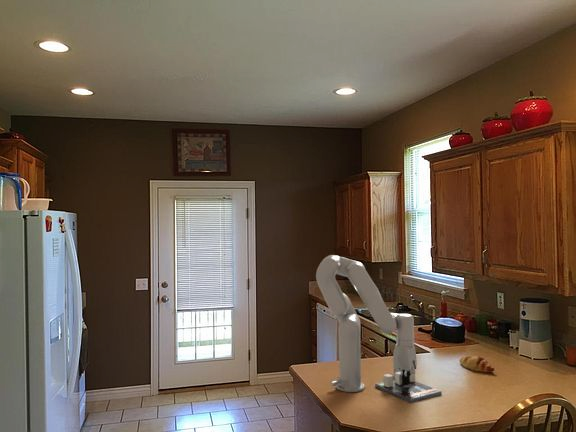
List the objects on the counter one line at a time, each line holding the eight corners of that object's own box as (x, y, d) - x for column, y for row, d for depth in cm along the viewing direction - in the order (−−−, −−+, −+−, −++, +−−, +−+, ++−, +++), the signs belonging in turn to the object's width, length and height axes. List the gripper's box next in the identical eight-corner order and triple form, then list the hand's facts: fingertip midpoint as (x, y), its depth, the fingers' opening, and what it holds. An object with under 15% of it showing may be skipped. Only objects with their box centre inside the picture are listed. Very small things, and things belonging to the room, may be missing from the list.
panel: (410, 402, 194) (409, 398, 194) (375, 387, 213) (375, 383, 213) (441, 394, 202) (441, 390, 202) (405, 380, 221) (405, 376, 222)
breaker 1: (388, 387, 207) (387, 376, 207) (383, 385, 209) (383, 375, 209) (393, 386, 208) (393, 375, 208) (388, 384, 211) (388, 373, 211)
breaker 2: (399, 384, 210) (399, 374, 210) (394, 382, 212) (394, 372, 212) (404, 383, 211) (404, 373, 211) (399, 381, 214) (399, 371, 214)
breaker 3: (410, 382, 213) (410, 372, 213) (405, 380, 216) (405, 370, 216) (415, 381, 214) (415, 371, 215) (410, 379, 217) (410, 369, 217)
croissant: (456, 370, 246) (450, 358, 244) (467, 359, 250) (462, 346, 249) (490, 381, 227) (484, 368, 226) (502, 368, 232) (497, 355, 230)
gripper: (387, 340, 213) (388, 381, 213) (410, 347, 200) (411, 391, 200) (400, 338, 217) (400, 378, 217) (424, 345, 204) (424, 388, 204)
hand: (405, 384), depth 208 cm, fingers closed
